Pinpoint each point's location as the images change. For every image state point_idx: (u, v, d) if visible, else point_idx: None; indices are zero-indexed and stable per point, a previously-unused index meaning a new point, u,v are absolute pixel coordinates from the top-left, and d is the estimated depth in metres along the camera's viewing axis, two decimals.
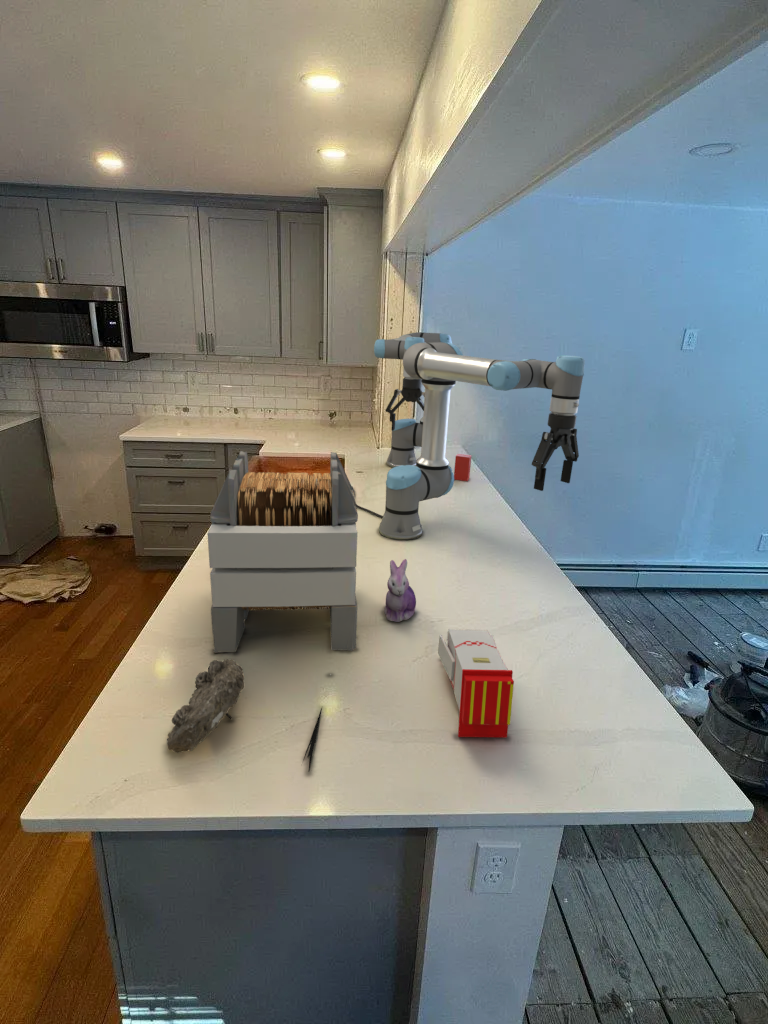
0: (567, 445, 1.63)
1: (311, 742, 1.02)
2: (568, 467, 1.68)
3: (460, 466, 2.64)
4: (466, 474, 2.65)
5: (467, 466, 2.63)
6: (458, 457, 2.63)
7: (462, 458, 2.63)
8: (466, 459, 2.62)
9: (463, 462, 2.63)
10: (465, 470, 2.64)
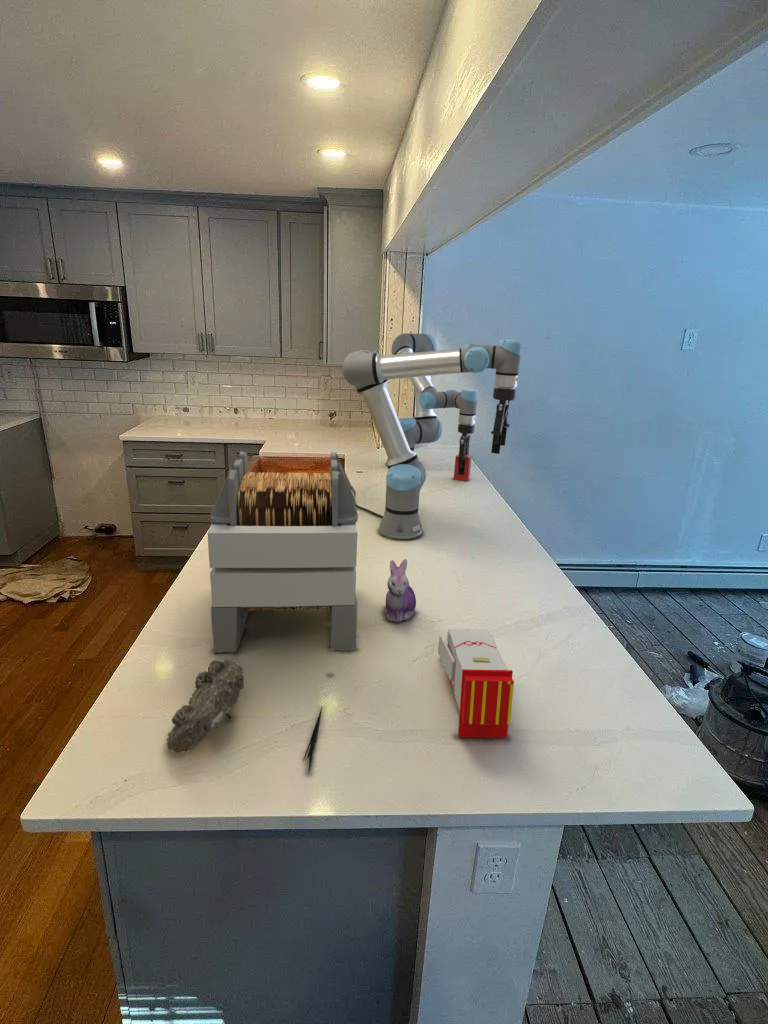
0: (506, 414, 1.97)
1: (311, 742, 1.02)
2: (503, 432, 2.03)
3: None
4: (466, 474, 2.65)
5: (467, 466, 2.63)
6: (458, 457, 2.63)
7: None
8: (466, 459, 2.62)
9: None
10: (465, 470, 2.64)
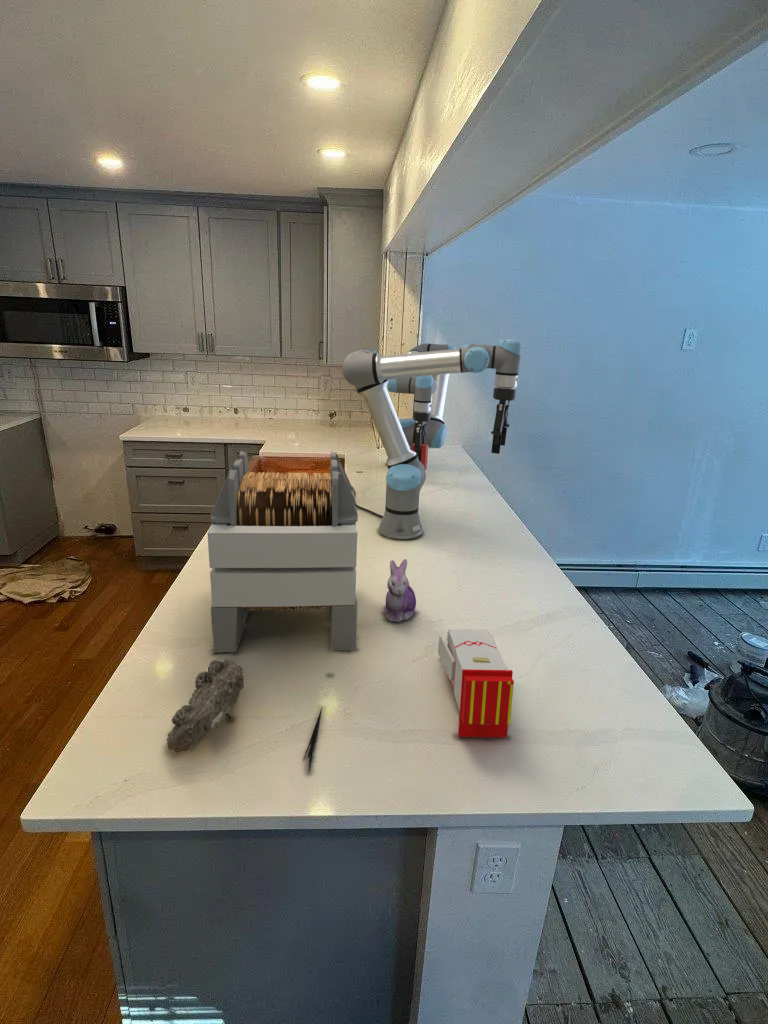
0: (506, 414, 1.97)
1: (311, 742, 1.02)
2: (503, 432, 2.03)
3: None
4: (423, 464, 2.55)
5: (424, 455, 2.54)
6: None
7: None
8: (423, 448, 2.53)
9: None
10: (422, 460, 2.55)
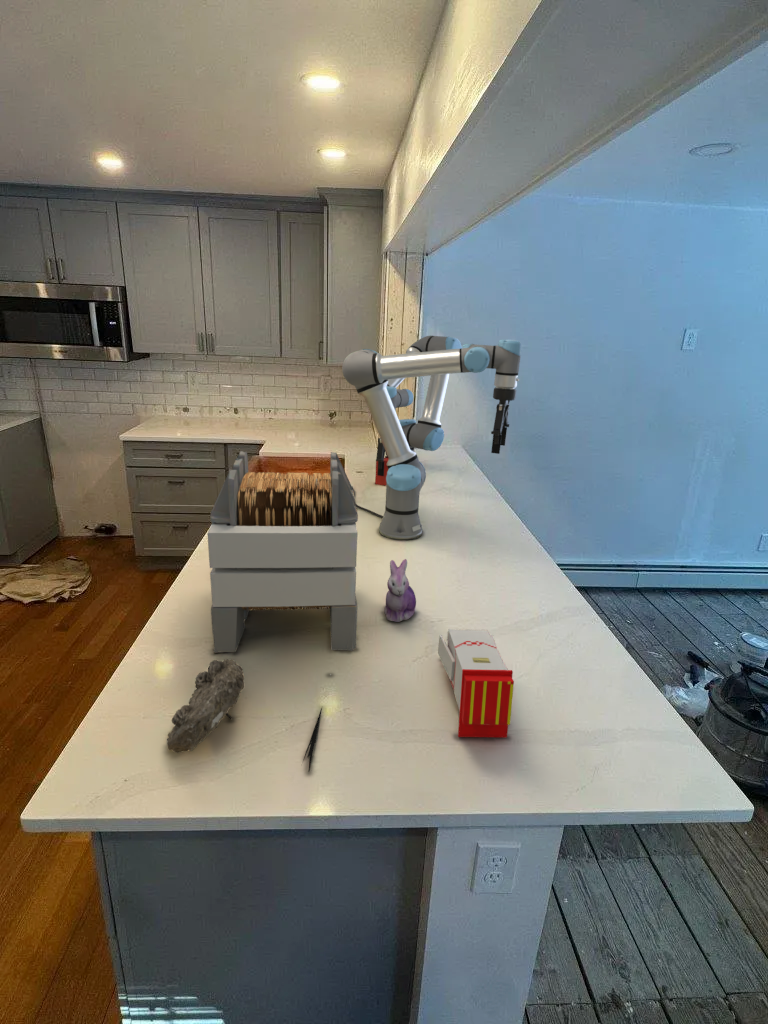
0: (506, 414, 1.97)
1: (311, 742, 1.02)
2: (503, 432, 2.03)
3: None
4: None
5: None
6: None
7: None
8: None
9: (384, 466, 2.51)
10: (386, 474, 2.52)
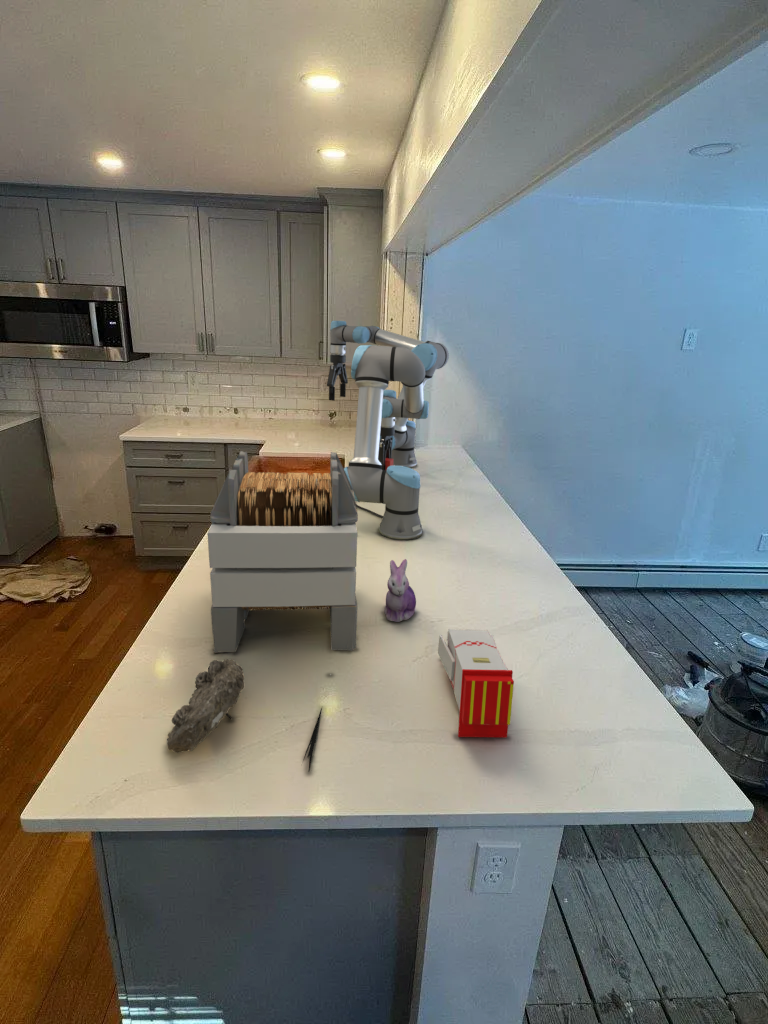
0: (388, 447, 2.51)
1: (311, 742, 1.02)
2: None
3: None
4: None
5: None
6: None
7: None
8: (387, 463, 2.50)
9: None
10: None
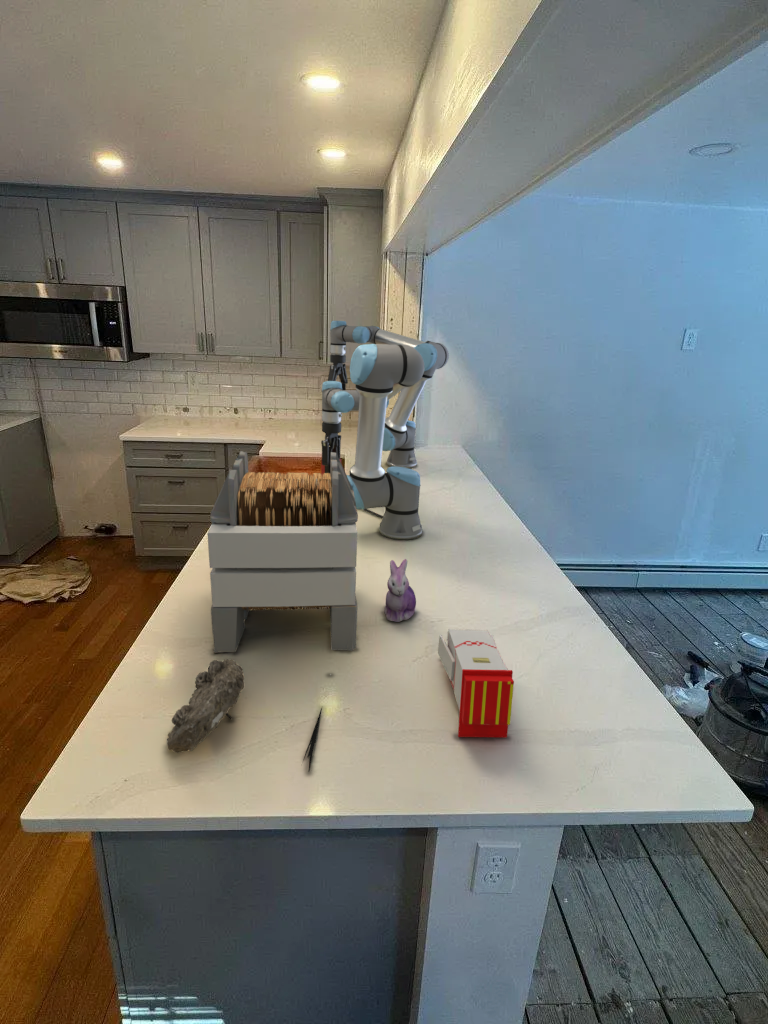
0: (335, 446, 2.24)
1: (311, 742, 1.02)
2: None
3: None
4: None
5: None
6: None
7: None
8: None
9: None
10: None
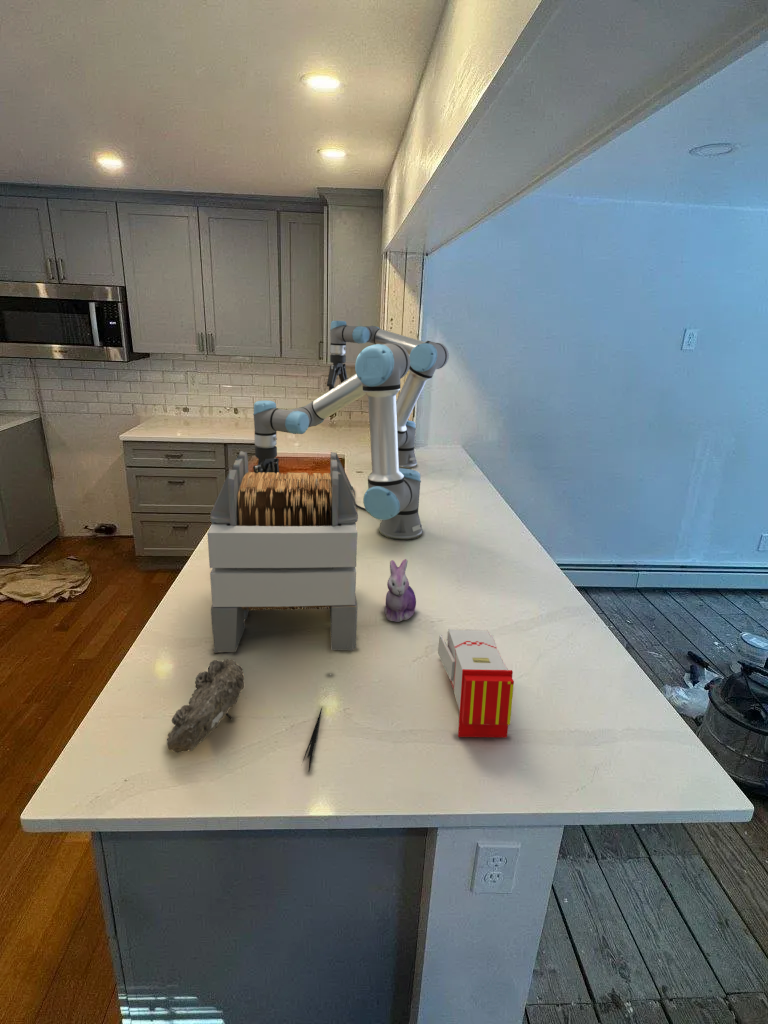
0: (272, 471, 2.03)
1: (311, 742, 1.02)
2: None
3: None
4: None
5: None
6: None
7: None
8: None
9: None
10: None
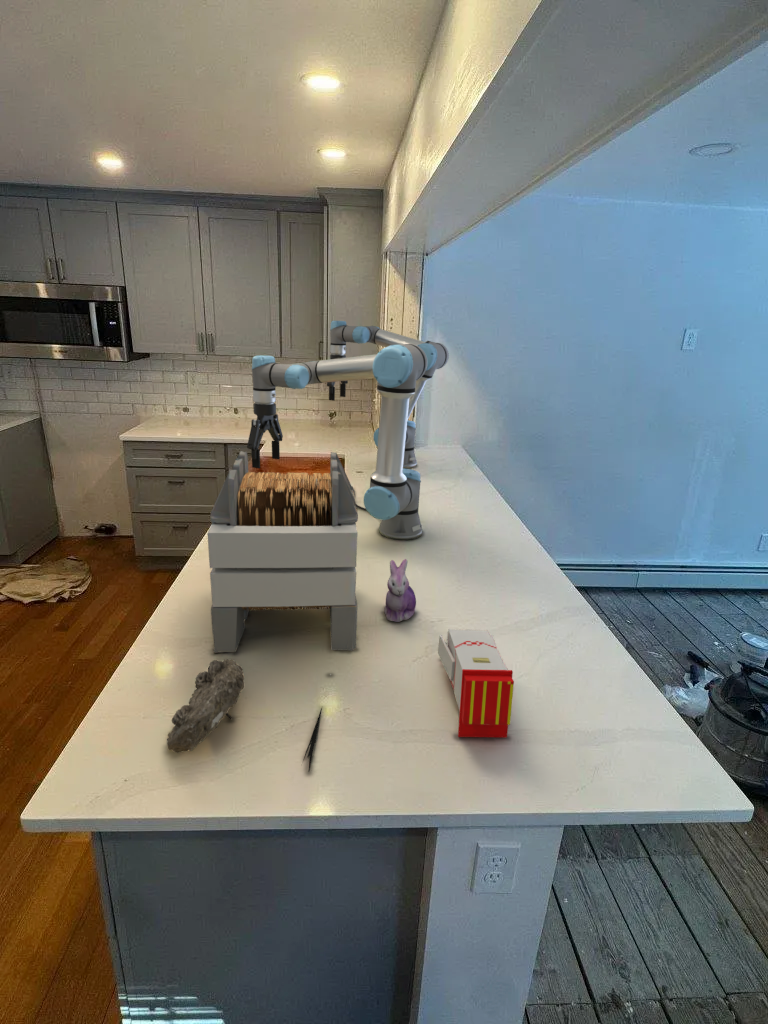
0: (272, 428, 1.98)
1: (311, 742, 1.02)
2: (276, 446, 2.04)
3: None
4: None
5: None
6: None
7: None
8: None
9: None
10: None
